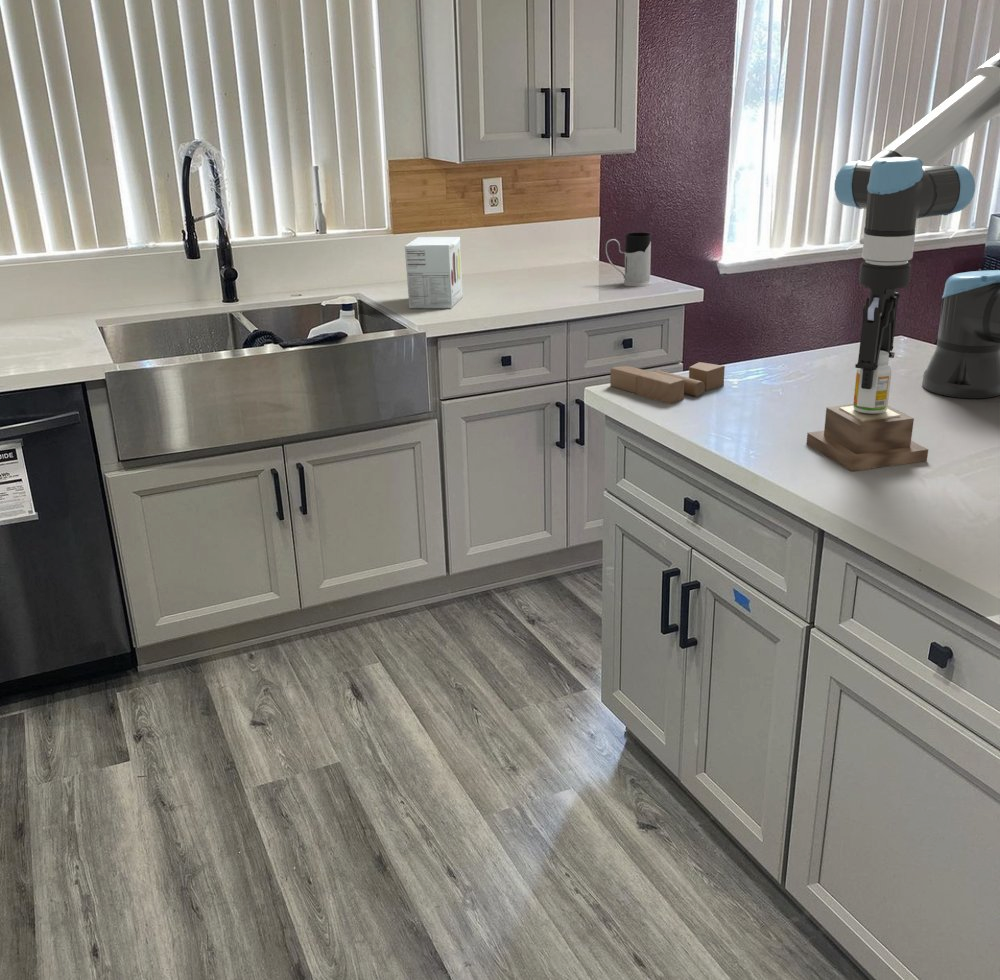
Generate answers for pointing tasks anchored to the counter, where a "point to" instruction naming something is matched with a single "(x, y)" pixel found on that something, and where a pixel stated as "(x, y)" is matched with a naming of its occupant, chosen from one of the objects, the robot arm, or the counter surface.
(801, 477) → the counter surface
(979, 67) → the robot arm
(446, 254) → the supplement box
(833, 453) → the plinth
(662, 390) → the wooden block set
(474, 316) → the counter surface
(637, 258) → the glass holder
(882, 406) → the supplement bottle
